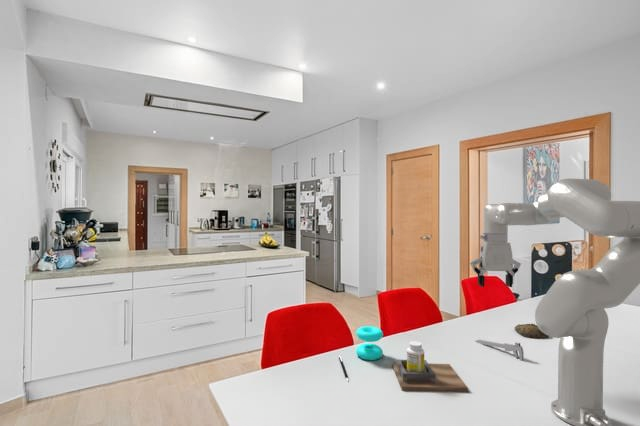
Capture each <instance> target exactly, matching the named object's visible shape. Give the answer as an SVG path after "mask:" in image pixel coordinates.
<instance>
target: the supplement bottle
mask: <svg viewBox="0 0 640 426" xmlns="http://www.w3.org/2000/svg"><path fill="white" fill-rule="evenodd" d="M422 345H423V344H422V343H421V342H419V341H418V340H417V341H415V340H412V341H409V344H408V346H409V347H407V349H406V360H407V372H424V360H425V350H424V348H423V346H422Z"/></svg>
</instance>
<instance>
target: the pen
mask: <svg viewBox="0 0 640 426" xmlns="http://www.w3.org/2000/svg"><path fill="white" fill-rule="evenodd" d="M338 359H339V363H340V366H341V369H342V371H343V374H344V378H345V380H346V381H347V382H349V376H348V373H347V370H346V368H345V365H344V361H343V359H342V356H341V355H338Z"/></svg>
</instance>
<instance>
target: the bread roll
mask: <svg viewBox="0 0 640 426" xmlns="http://www.w3.org/2000/svg"><path fill="white" fill-rule="evenodd" d="M514 331H516V332H515V333H517V334H519V335H520V336H521V337H524V338H529V339H540V338H541V339H548V338H549V337H550V336H548V335H546V334H544V333H543V332H542V331H541V330H540V329H539V328H538V326H537V324H536V323H526V324H519V323H518V324H517V325H515V326H514ZM541 339H540V340H541Z"/></svg>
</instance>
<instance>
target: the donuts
mask: <svg viewBox="0 0 640 426" xmlns="http://www.w3.org/2000/svg"><path fill="white" fill-rule="evenodd" d="M356 336H357V337H358V339H359V340H360V341H364V342H368V343H362V344H360V345H358V346H357V348H356V350H355V352H356V355H357V356H358V357H359V358H360V359H363V360H365V361H366V360H367V361H377V360H379V359H381V358H382V356H383V354H384V352H383V349H382V348H381V346H379V345H377V344H375V343H373V342H378V341H380V340H381V339H382V338H383V337H384V333H383V331H382V330H381V328H379V327H377V326H371V325H366V326H365V325H364V326H360V327H358V328H357V329H356Z"/></svg>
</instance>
